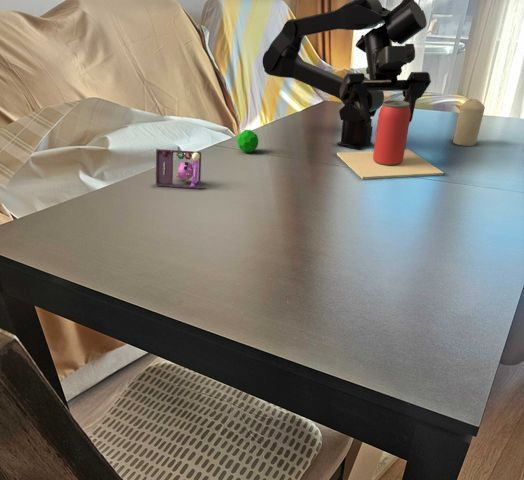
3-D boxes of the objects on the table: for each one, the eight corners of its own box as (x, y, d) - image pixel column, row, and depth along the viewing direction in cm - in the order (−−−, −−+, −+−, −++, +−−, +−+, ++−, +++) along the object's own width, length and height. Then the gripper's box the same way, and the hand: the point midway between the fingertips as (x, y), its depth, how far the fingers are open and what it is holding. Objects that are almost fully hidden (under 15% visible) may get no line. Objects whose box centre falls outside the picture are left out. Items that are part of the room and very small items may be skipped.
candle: (477, 146, 125) (488, 102, 119) (454, 145, 126) (463, 101, 120) (474, 141, 129) (484, 98, 123) (451, 139, 130) (461, 97, 124)
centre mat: (336, 154, 118) (336, 152, 118) (408, 151, 121) (409, 149, 121) (362, 179, 104) (362, 176, 104) (443, 175, 107) (444, 172, 107)
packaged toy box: (154, 148, 97) (199, 151, 96) (164, 151, 102) (207, 153, 101) (154, 185, 99) (198, 188, 98) (164, 185, 104) (206, 189, 103)
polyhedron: (235, 149, 121) (234, 128, 118) (254, 148, 122) (254, 127, 120) (240, 155, 117) (240, 133, 115) (260, 153, 119) (261, 132, 116)
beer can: (402, 158, 115) (411, 100, 107) (402, 167, 109) (413, 106, 102) (372, 156, 116) (380, 99, 108) (372, 165, 110) (380, 105, 103)
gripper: (349, 28, 102) (359, 99, 99) (436, 27, 104) (448, 96, 102) (335, 67, 113) (344, 131, 110) (414, 65, 115) (424, 129, 113)
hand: (389, 122), depth 108 cm, fingers open, 9 cm apart
